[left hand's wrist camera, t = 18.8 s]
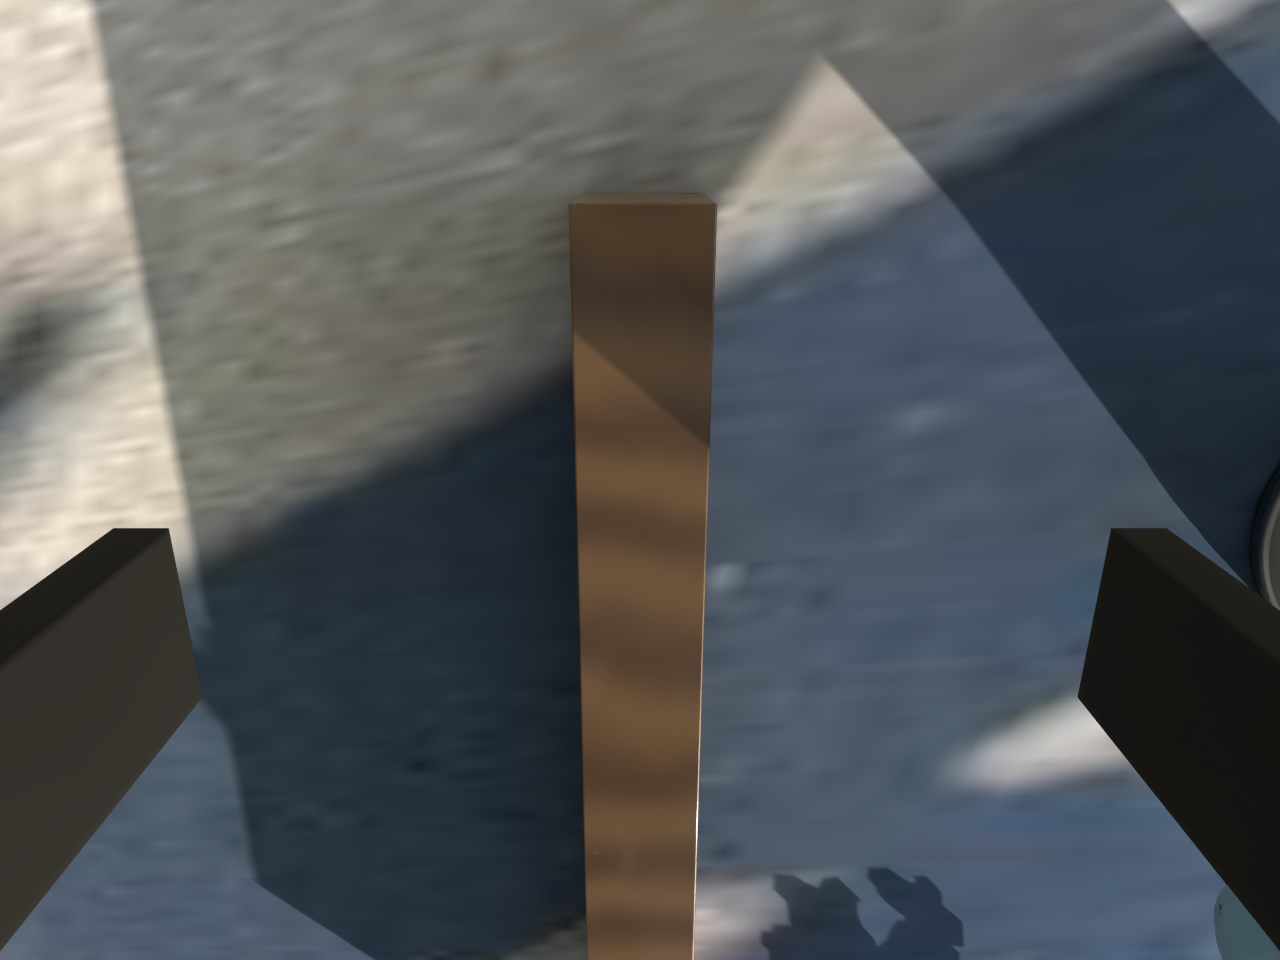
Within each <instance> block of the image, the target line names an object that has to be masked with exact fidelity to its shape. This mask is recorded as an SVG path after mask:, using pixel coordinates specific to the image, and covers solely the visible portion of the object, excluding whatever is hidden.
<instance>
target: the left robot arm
mask: <svg viewBox="0 0 1280 960" xmlns="http://www.w3.org/2000/svg"><path fill="white" fill-rule="evenodd" d="M1251 561H1252V568H1253V573H1254V577H1255V581H1256V584H1257V586H1258V589H1259V591H1260V594H1261V595H1262V597H1263V598H1262V597H1261V596H1259V595H1258V594H1256V593H1255V592H1254V591H1252V590H1251V589H1249V588H1248V587H1247V586H1245V585H1244V584H1243V583H1241V582H1240V581H1238V580H1237V579H1236V578H1234V577H1233V576H1231V575H1230V574H1229V573H1227V572H1226V571H1225V570H1223V569H1222V568H1220V567H1219V566H1218V565H1216V564H1215V563H1214V562H1212V561H1211V560H1209V559H1208V558H1207V557H1205V556H1204V555H1202V554H1201V553H1200V552H1198V551H1197V550H1196V549H1194V548H1193V547H1191V546H1190V545H1189V544H1187V543H1186V542H1185V541H1183V540H1182V539H1180V538H1179V537H1178V536H1176V535H1175V534H1173V533H1172V532H1171V531H1169V530H1168V529H1167V528H1111V533H1110V538H1109V543H1108V548H1107V553H1106V558H1105V563H1104V568H1103V573H1102V578H1101V583H1100V588H1099V593H1098V598H1097V603H1096V608H1095V613H1094V618H1093V623H1092V628H1091V633H1090V638H1089V643H1088V648H1087V653H1086V658H1085V663H1084V668H1083V673H1082V678H1081V683H1080V688H1079V693H1078V698H1079V700H1080V701H1081V702H1082V703H1083V705H1084V706H1085V707H1086V708H1087V710H1088V711H1089V712H1090V713H1091V715H1092V716H1093V717H1094V718H1095V720H1096V721H1097V722H1098V723H1099V725H1100V726H1101V727H1102V728H1103V730H1104V731H1105V732H1106V734H1107V735H1108V736H1109V737H1110V739H1111V740H1112V741H1113V742H1114V744H1115V745H1116V746H1117V747H1118V749H1119V750H1120V751H1121V752H1122V754H1123V755H1124V756H1125V757H1126V759H1127V760H1128V761H1129V762H1130V764H1131V765H1132V766H1133V767H1134V769H1135V770H1136V771H1137V772H1138V774H1139V775H1140V776H1141V777H1142V779H1143V780H1144V781H1145V783H1146V784H1147V785H1148V786H1149V788H1150V789H1151V790H1152V791H1153V793H1154V794H1155V795H1156V796H1157V798H1158V799H1159V800H1160V801H1161V803H1162V804H1163V805H1164V806H1165V808H1166V809H1167V810H1168V811H1169V813H1170V814H1171V815H1172V816H1173V818H1174V819H1175V820H1176V821H1177V823H1178V824H1179V825H1180V827H1181V828H1182V829H1183V830H1184V832H1185V833H1186V834H1187V835H1188V837H1189V838H1190V839H1191V840H1192V842H1193V843H1194V844H1195V845H1196V847H1197V848H1198V849H1199V850H1200V852H1201V853H1202V854H1203V855H1204V857H1205V858H1206V859H1207V860H1208V862H1209V863H1210V864H1211V865H1212V867H1213V868H1214V869H1215V870H1216V872H1217V873H1218V874H1219V876H1220V877H1221V878H1222V879H1223V881H1224V882H1225V883H1226V884H1227V885H1226V886H1225V887H1224V888H1223V889H1222V891H1221V892H1220V894H1219V896H1218V898H1217V901H1216V904H1215V912H1214V924H1215V935H1216V940H1217V945H1218V948H1219V951H1220V954H1221V957H1222V960H1280V467H1279V469H1278V471H1277V472H1276V474H1275V475H1274V477H1273V478H1272V480H1271V482H1270V484H1269V486H1268V488H1267V489H1266V491H1265V493H1264V496H1263V498H1262V501H1261V503H1260V505H1259V508H1258V511H1257V515H1256V518H1255V522H1254V527H1253V532H1252V540H1251ZM201 698H202V693H201V688H200V683H199V678H198V673H197V668H196V663H195V658H194V653H193V648H192V643H191V638H190V633H189V628H188V623H187V618H186V613H185V608H184V603H183V598H182V593H181V588H180V583H179V578H178V573H177V568H176V563H175V558H174V553H173V548H172V543H171V538H170V533H169V528H113V529H112V530H111V531H109V532H108V533H107V534H105V535H104V536H102V537H101V538H100V539H98V540H97V541H95V542H94V543H93V544H91V545H90V546H89V547H87V548H86V549H84V550H83V551H82V552H80V553H79V554H78V555H76V556H75V557H73V558H72V559H71V560H69V561H68V562H66V563H65V564H64V565H62V566H61V567H60V568H58V569H57V570H55V571H54V572H53V573H51V574H50V575H48V576H47V577H46V578H44V579H43V580H42V581H40V582H39V583H37V584H36V585H35V586H33V587H32V588H31V589H29V590H28V591H26V592H25V593H24V594H22V595H21V596H19V597H18V598H17V599H15V600H14V601H13V602H11V603H10V604H8V605H7V606H6V607H4V608H3V609H2V610H0V951H1V950H2V948H3V947H4V946H5V945H6V943H7V942H8V941H9V940H10V938H11V937H12V936H13V935H14V933H15V932H16V931H17V930H18V928H19V927H20V926H21V925H22V923H23V922H24V921H25V919H26V918H27V917H28V916H29V914H30V913H31V912H32V911H33V909H34V908H35V907H36V906H37V904H38V903H39V902H40V901H41V899H42V898H43V897H44V896H45V894H46V893H47V892H48V891H49V889H50V888H51V887H52V886H53V884H54V883H55V882H56V881H57V879H58V878H59V877H60V876H61V874H62V873H63V872H64V870H65V869H66V868H67V867H68V865H69V864H70V863H71V862H72V860H73V859H74V858H75V857H76V855H77V854H78V853H79V852H80V850H81V849H82V848H83V847H84V845H85V844H86V843H87V842H88V840H89V839H90V838H91V837H92V835H93V834H94V833H95V832H96V830H97V829H98V828H99V827H100V825H101V824H102V823H103V821H104V820H105V819H106V818H107V816H108V815H109V814H110V813H111V811H112V810H113V809H114V808H115V806H116V805H117V804H118V803H119V801H120V800H121V799H122V798H123V796H124V795H125V794H126V793H127V791H128V790H129V789H130V788H131V786H132V785H133V784H134V783H135V781H136V780H137V779H138V777H139V776H140V775H141V774H142V772H143V771H144V770H145V769H146V767H147V766H148V765H149V764H150V762H151V761H152V760H153V759H154V757H155V756H156V755H157V754H158V752H159V751H160V750H161V749H162V747H163V746H164V745H165V744H166V742H167V741H168V740H169V739H170V737H171V736H172V735H173V734H174V732H175V731H176V730H177V728H178V727H179V726H180V725H181V723H182V722H183V721H184V720H185V718H186V717H187V716H188V715H189V713H190V712H191V711H192V710H193V708H194V707H195V706H196V705H197V703H198V702H199V701H200V700H201Z"/></svg>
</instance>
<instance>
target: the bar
mask: <svg viewBox="0 0 1280 960" xmlns="http://www.w3.org/2000/svg"><path fill="white" fill-rule="evenodd" d="M716 224H717V205H716V204H715V203H714V202H713V201H711V200H710V199H709V198H707V197H706V196H705V195H703V194H593V193H583V194H581V195H580V196H579V197H578V198H576V199H575V200H574V201H573V202H571V203H570V204H569V234H570V276H571V317H572V359H573V400H574V441H575V483H576V524H577V566H578V607H579V648H580V690H581V731H582V773H583V814H584V855H585V897H586V938H587V960H694V931H695V899H696V867H697V835H698V803H699V771H700V739H701V706H702V674H703V642H704V610H705V578H706V546H707V514H708V481H709V449H710V417H711V385H712V353H713V321H714V289H715V257H716Z"/></svg>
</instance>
